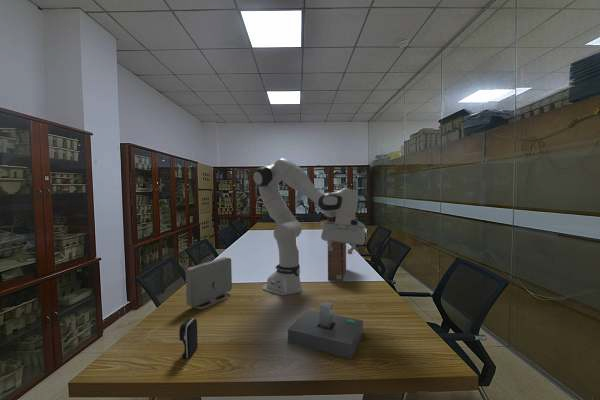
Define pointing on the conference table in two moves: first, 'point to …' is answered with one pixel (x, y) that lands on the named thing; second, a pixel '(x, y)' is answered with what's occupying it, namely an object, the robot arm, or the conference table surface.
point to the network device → (208, 282)
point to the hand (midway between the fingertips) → (339, 252)
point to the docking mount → (327, 334)
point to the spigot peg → (326, 315)
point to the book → (337, 261)
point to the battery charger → (189, 337)
